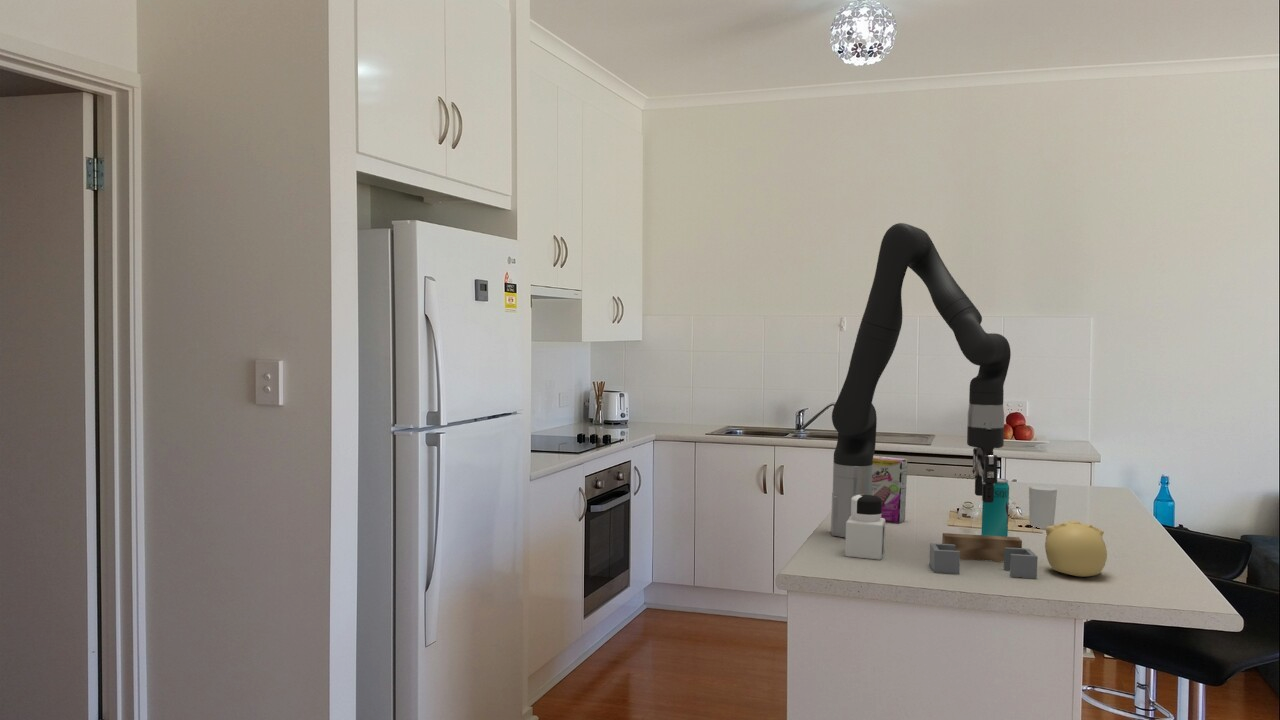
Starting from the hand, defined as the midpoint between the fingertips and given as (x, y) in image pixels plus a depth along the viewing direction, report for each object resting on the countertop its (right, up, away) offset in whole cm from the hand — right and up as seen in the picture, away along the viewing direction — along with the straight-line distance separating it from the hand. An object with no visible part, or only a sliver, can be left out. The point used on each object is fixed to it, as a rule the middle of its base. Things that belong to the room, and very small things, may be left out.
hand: (983, 498), depth 210 cm
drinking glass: (+28, -13, +36) cm, 47 cm away
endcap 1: (-12, -13, -10) cm, 20 cm away
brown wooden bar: (0, -13, 0) cm, 13 cm away
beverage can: (+8, -13, +16) cm, 22 cm away
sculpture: (+15, -14, -11) cm, 23 cm away
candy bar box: (-12, -12, +41) cm, 44 cm away
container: (-26, -13, +2) cm, 29 cm away
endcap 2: (+3, -14, -12) cm, 19 cm away
